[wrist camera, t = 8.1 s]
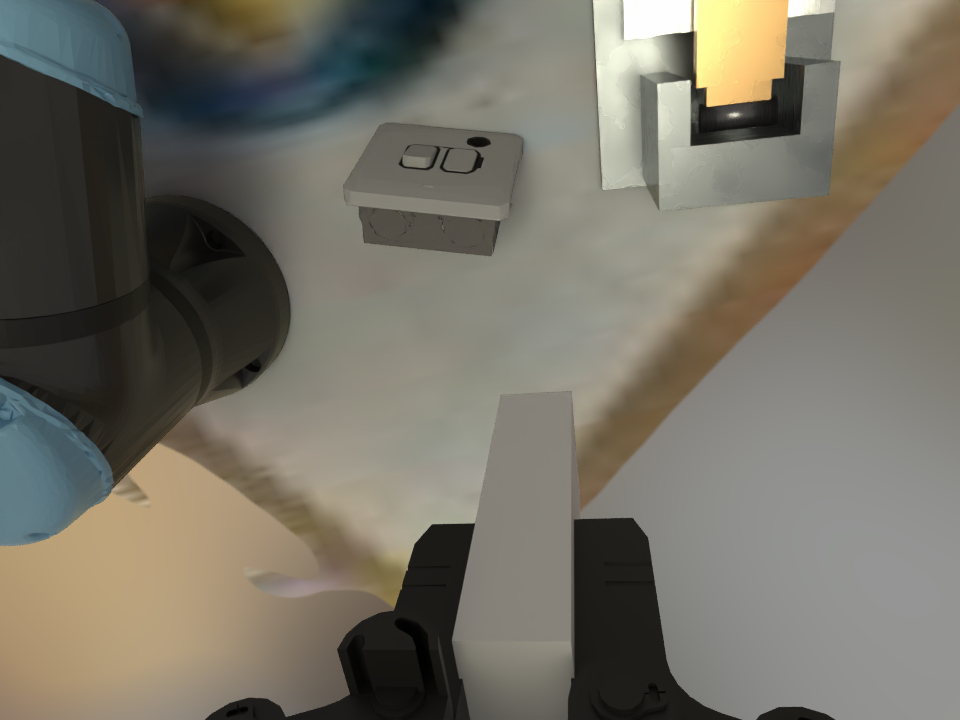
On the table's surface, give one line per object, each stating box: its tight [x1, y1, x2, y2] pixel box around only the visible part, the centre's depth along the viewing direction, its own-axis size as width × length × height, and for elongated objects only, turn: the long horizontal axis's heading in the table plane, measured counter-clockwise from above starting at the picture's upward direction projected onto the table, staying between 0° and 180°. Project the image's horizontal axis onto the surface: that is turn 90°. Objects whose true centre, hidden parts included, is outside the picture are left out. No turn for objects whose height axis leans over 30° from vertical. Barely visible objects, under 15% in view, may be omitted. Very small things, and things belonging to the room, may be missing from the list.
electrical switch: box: [343, 123, 523, 256], centre depth 41 cm, size 9×5×9 cm, turn 86°
